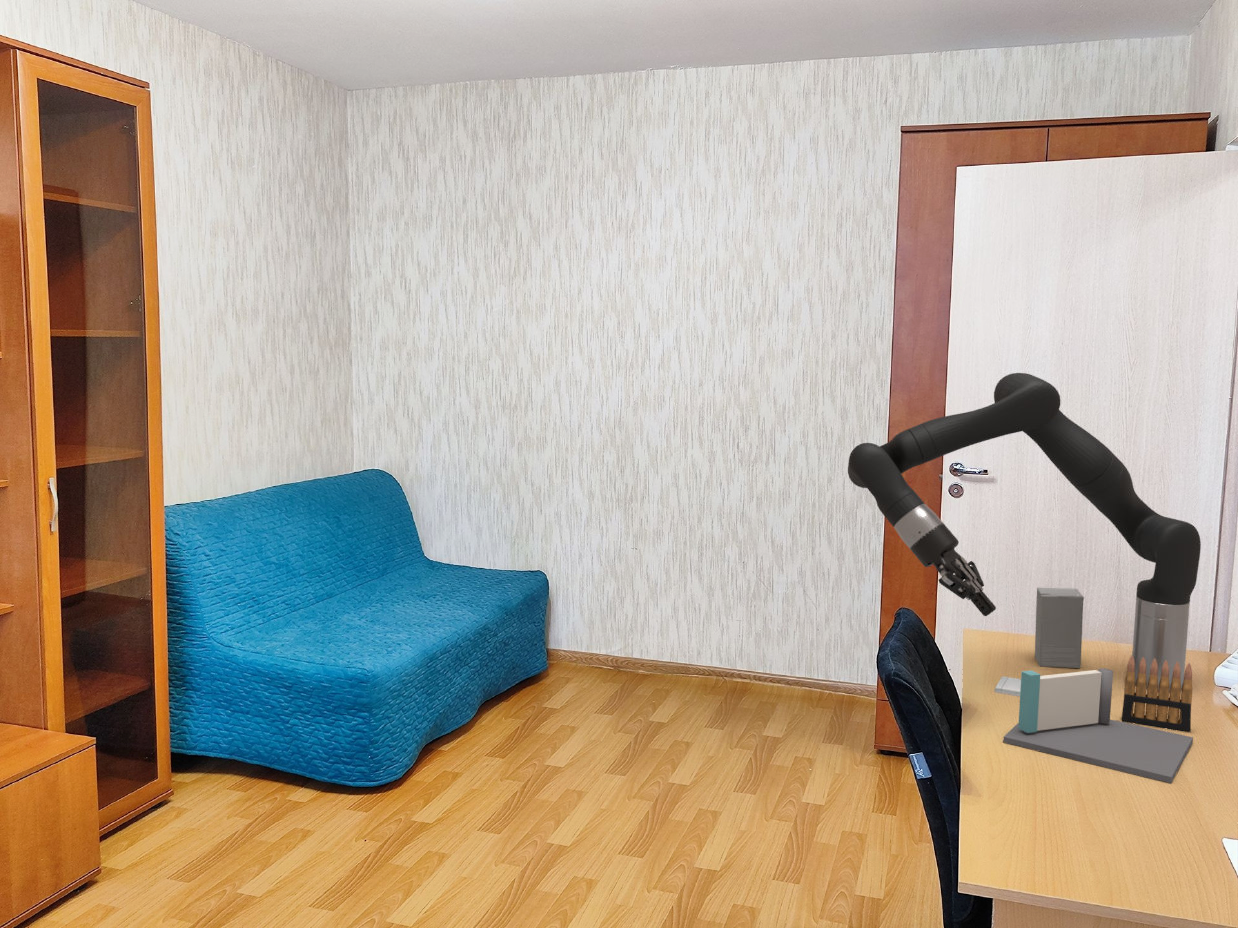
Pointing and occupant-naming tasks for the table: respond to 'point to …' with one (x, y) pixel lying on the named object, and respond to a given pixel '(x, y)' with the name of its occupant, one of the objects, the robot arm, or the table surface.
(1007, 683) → the hard drive
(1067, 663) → the skincare box
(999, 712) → the table surface
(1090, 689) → the cream barrier panel
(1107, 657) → the table surface
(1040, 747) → the mat
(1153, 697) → the ammunition clip
